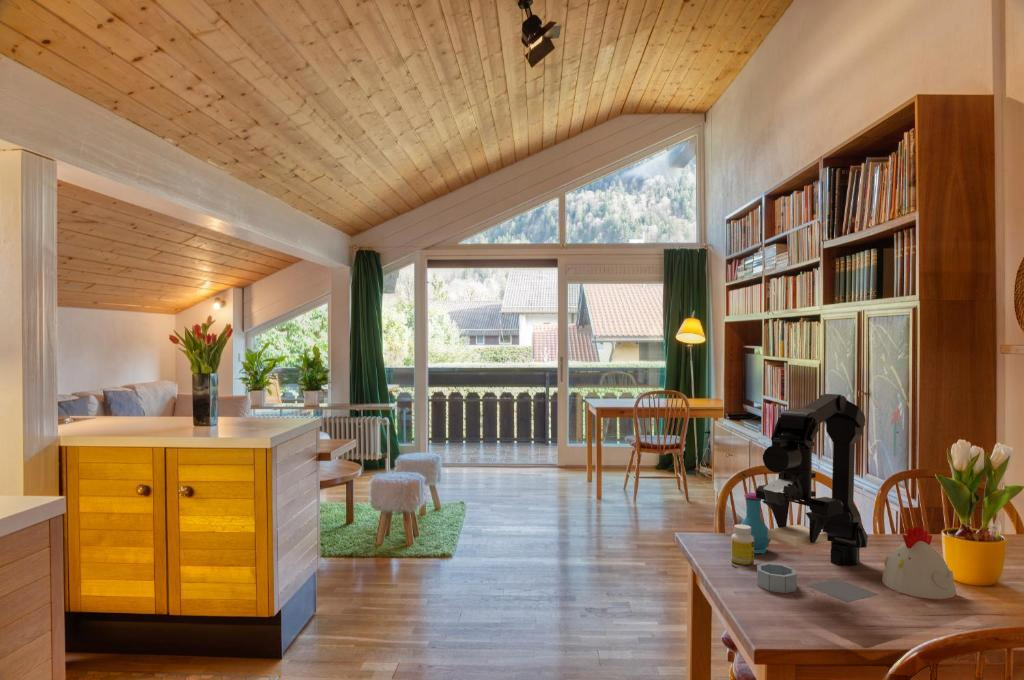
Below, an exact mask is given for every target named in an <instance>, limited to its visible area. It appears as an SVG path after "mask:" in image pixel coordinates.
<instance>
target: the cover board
mask: <svg viewBox="0 0 1024 680" xmlns="http://www.w3.org/2000/svg"><path fill="white" fill-rule="evenodd" d="M768 539H771V540H772V541H774V542H778V543H781V544H783V545H787V546H789V547H793V548H796V549H797V548H803V547H808V546H813V545H818V544H825V543H828V541H827V533H826V532H823V531H822V530H821V532H820V534H819V536H818V538H817V540H816V542H815V543H810V536H809V526H804V525H801V524H800V523H799V524H793V525H792V524H791V525H786V526H785V527H779V528H778V527H775V528H768ZM771 540H770V541H771Z"/></svg>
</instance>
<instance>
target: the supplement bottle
mask: <svg viewBox="0 0 1024 680" xmlns="http://www.w3.org/2000/svg"><path fill="white" fill-rule="evenodd" d="M733 530H734V533H732V534H731V538H730V539H731V540H730V541H731V542H730V543H731V544H730V545H731V546H730V551H731V552H730V555H731V556H730V557H731V558H730V563H731V565H732V566H733V567H734V568H737V567H738V569H740V568H745V567H750V566H754V565H755V554H754V538H753V536H751V535H750V534H751V527H750V526H748V525H742V524H741V523H740V524H734V528H733Z"/></svg>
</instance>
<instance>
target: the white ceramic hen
mask: <svg viewBox="0 0 1024 680" xmlns="http://www.w3.org/2000/svg"><path fill="white" fill-rule="evenodd" d="M906 533H907V534H902V538H903V541H904V542H903V543H901V544H900V545H899V546H897V548H895V550H893V552H892V553H891V554H887V555H886V556H885V558H884V569H883V573H882V579H881V581H882V584H883V585H884V586H885V587H887V588H888V589H889V590H892V591H894V592H897V593H900V594H903V595H906V596H910V597H915V598H920V599H926V600H939V601H940V600H941V601H942V600H949V599H952V598H955V597H956V596H957V590H956V586H955V582H954V571H953V570H950V568H949V566H948V564H947V563H946V561H945V560H944V558H943V556H942V555H941V553H939V552H938V551H937V550H936V549H935V547H933V546H932V545H931V543H932V538H933V535H932V534H931V535H930V534H928V533H929V532H928V530H924V527H923V526H920V525H918V526H913V528H909V527H908V528H907V530H906Z"/></svg>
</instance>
